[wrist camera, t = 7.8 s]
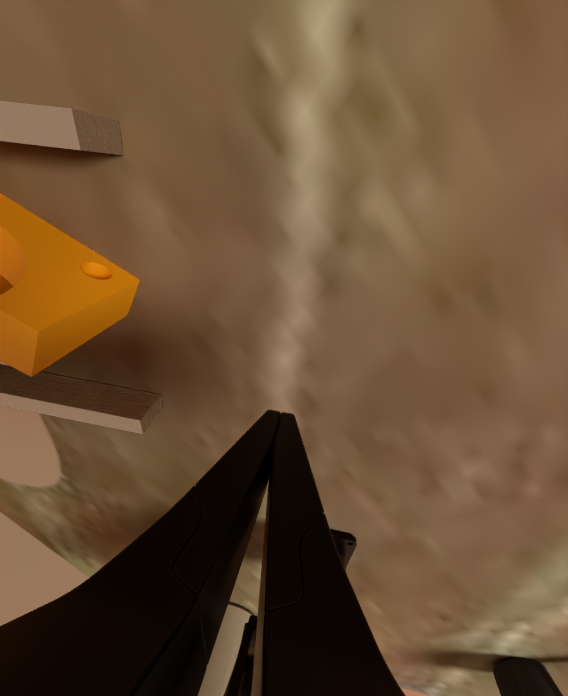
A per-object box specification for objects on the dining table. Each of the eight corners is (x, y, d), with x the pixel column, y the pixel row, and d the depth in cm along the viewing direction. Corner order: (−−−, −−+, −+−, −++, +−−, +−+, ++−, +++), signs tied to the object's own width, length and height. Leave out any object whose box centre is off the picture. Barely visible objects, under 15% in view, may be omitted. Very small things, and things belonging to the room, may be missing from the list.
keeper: (163, 407, 20) (143, 434, 18) (-28, 370, 22) (-68, 391, 20) (118, 121, 12) (71, 108, 10) (-189, 88, 13) (-289, 70, 11)
